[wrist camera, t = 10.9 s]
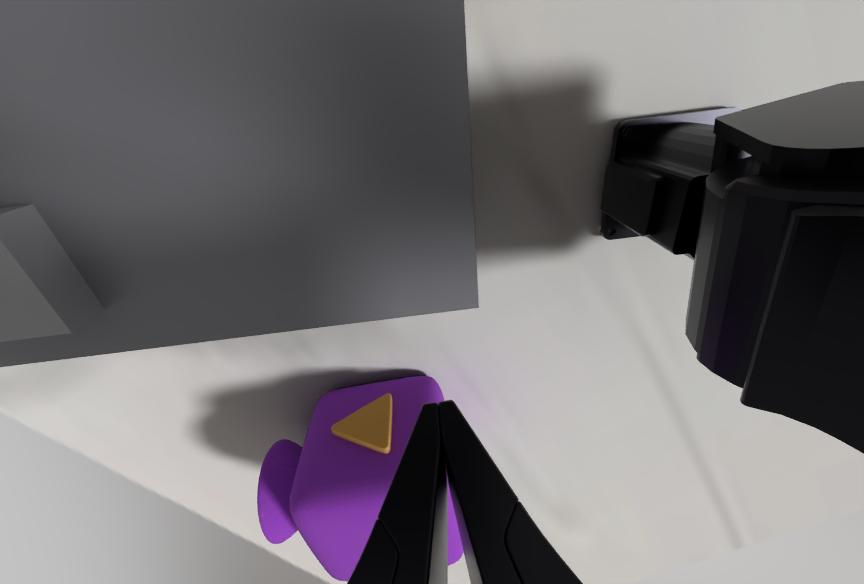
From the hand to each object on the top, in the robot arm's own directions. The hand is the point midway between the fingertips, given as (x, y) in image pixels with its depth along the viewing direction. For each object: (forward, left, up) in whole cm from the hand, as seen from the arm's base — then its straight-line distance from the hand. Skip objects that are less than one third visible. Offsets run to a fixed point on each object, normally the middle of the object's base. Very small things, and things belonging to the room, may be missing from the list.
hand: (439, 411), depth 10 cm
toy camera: (+6, +15, -13) cm, 21 cm away
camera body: (+10, -6, -13) cm, 17 cm away
